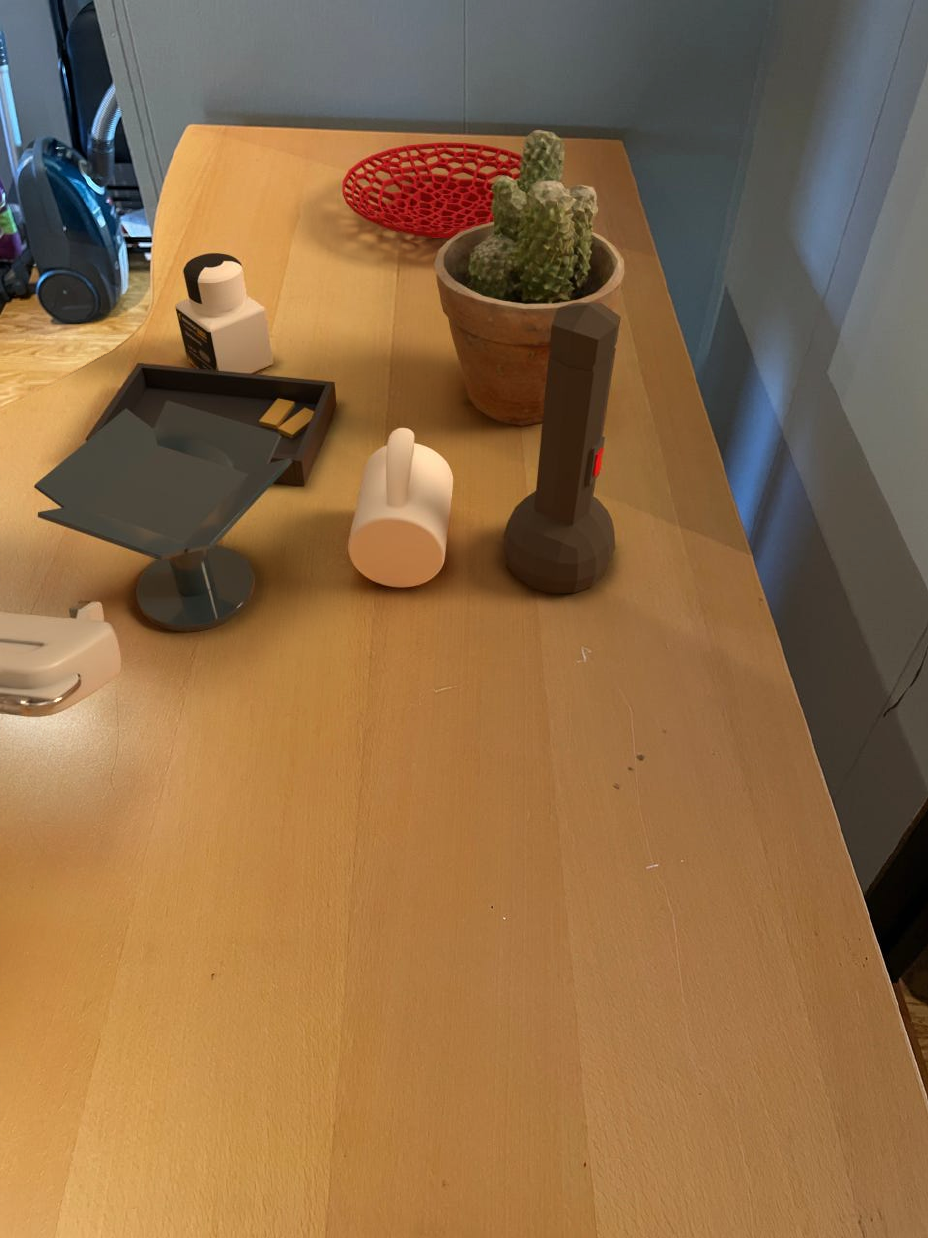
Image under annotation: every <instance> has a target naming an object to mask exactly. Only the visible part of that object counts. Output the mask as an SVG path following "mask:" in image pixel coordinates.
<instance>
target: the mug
mask: <svg viewBox="0 0 928 1238" xmlns="http://www.w3.org/2000/svg"><path fill="white" fill-rule="evenodd" d="M449 465H450V464H449V463H448V462H447V461H446V460H445V458H444V457H443V456H442V455H441V454H439V453H438V452H437V451H435V450H434V449H432V448H430V447H428V446H426V445H423V444H419V443H416V442H415V433H414V432H413V430H412V429H410V428H407V427H398V428H396V429H394V430H393V431H392V432H391V433H390V434H389V436H388V439H387V442H386V445H384V446H382V447H380V448H379V449H377V450H376V451H375V452H373V454H371V455H370V456H369V458H368V459H367V461H366V463H365V466H364V469H363V474H362V477H361V483H360V487H359V492H358V495H357V496H358V497H357V501H356V506H355V510H354V515H353V519H352V523H351V528H350V533H349V538H348V541H347V542H348V543H347V551H348V556H349V559H350V561H351V563H352V565H353V566H354V567H355V568H356V569H357V571H358V572H359V573H361V575H363V576H364V577H366V578H367V579H369V580H370V581H372V582H375V583H377V584H379V585H383V586H385V587H386V586H387V587H392V588H411V587H415V586H416V587H417V586H420V585H422V584H425V583H427V582H429V581H430V580H432V579H433V578H435V576H436V575H438V574H439V572H440V571H441V570H442V568H443V565H444V563H445V558H446V551H447V541H448V533H449V525H450V516H451V507H452V499H453V491H454V490H453V488H454V475H453V472H452V468H451V467H450V466H449Z"/></svg>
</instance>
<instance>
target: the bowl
mask: <svg viewBox="0 0 928 1238" xmlns="http://www.w3.org/2000/svg"><path fill="white" fill-rule="evenodd" d="M432 149H433V151H431V152H426V151H423V150H432ZM452 149H462V151H454V150H452ZM469 150H470V151H469ZM471 150H473V151H471ZM411 151H415V152H417V153H418V154H417V155H412V154H411ZM405 152H406V155H407V156H402V155H400V153H405ZM483 152H489V153H492V154H493V153H494V155H485V154H483ZM441 155H448V156H450V157H448V158H446V157H442V156H441ZM501 155H502V156H505V157H507V160H505V161H503V160H500V159H499V157H500V156H501ZM434 157H436V158H437V161H434V162H431V163H428V162H427V161H428V159H430V158H434ZM462 157H463V158H462ZM393 159H397V160H398V161H392V160H393ZM513 159H514V160H513ZM479 160H481V162H480V161H479ZM515 160H517V161H515ZM375 161H376V162H375ZM416 161H418V162H421V163H423V164H420V165H416V163H415V162H416ZM377 162H378V163H381V164H378V163H377ZM519 162H520V163H522V158H521V154H519V153H516V152H513V151H510V150H507V149H504V148H499V147H494V146H489V145H485V144H476V143H467V142H441V141H440V142H431V143H430V142H428V143H419V144H417V143H416V144H408V145H403V146H398V147H393V148H389V149H387V150H383V151H381V152H377V153H375V154H372V155H370V156H368V157H366V158H364V159H362V160H359V162H357V163H356V164H355V165H353V166H352V167H351V168H349V170H348V171H347V172H346V175H345V176H344V178H343V180H342V187H341V188H342V189H341V190H342V196H343V199H344V201H345V204H346V205H347V206H348V207H349V208H350V209H351V210H352V211H353V212H354V213H356V214H357V215H359V216H360V217H361V218H363V219H365V221H368V222H371V223H373V224H374V225H375V224H376V225H378V226H381V227H382V228H385V229H388V230H391V231H394V232H395V231H396V232H401V233H404V234H408V235H412V236H418V237H425V238H432V239H451V238H453V237H454V236H455V235H457V234H458V233H459V232H462V231H465V230H467V229H470V228H472V227H476V226H479V225H483V224H486V223H490V222H494V219H493V212H492V210H491V205H492V200H493V199H494V194H493V191H492V185H493V184H494V183H495V182H492V181H490V180H492V179H494V178H496V177H499V176H506V175H507V176H509V177H510V178H512V179H514V180H515V181H516V180H517V179H519V176H520V169H521V168H520V165H519ZM403 163H410V165H409V166H402V164H403ZM453 163H454V164H455V163H456V164H459V165H461V166H457V167H455V168H454V167H453V166H451V165H450V164H453ZM471 163H472V164H474V165H475V169H473V168H470V167H468V166H465V165H467V164H471ZM366 165H370V166H371V167H373V169H371V168H368V167H367V166H366ZM485 167H489V168H490V167H491V168H494V169H496V170H493V171H491V172H488V173H486V172H482V171H480V170H481V169H483V168H485ZM360 169H362V170H363V173H357V172H358V171H359V170H360ZM434 169H442V170H443V169H444V170H445V171H447V172H448V173H447V174H439V173H437V174H436V173H433V171H432V170H434ZM514 169H517V170H518V171H519V172H517V173H512V172H511V170H514ZM378 172H382V173H385V174H388V175H389V176H390V178H388V179H386V180H383V179H381V178H379V177H378V176H377V175H376V174H377V173H378ZM422 172H423V173H422ZM425 172H426V173H425ZM413 173H414V174H415V175H412V176H410V175H408V174H413ZM368 174H369V175H372V177H369V176H368ZM459 174H466V175H468V176H471V177H472V178H458V177H455V175H459ZM395 175H396V176H395ZM359 180H365V181H366V182H367V183H368V184H369V185H368V186H365V187H364V186H363V185H361V184H360V183H359V182H358V181H359ZM349 181H350V182H351V183H352V185H351V184H349V183H348V182H349ZM402 182H406V183H409V184H403V183H402ZM375 183H376V184H377V185H379V186H380V188H379V187H376V186H374V185H373V184H375ZM427 183H429V184H427ZM394 185H395V186H396V187H397V189H398V190H399V191H395V192H390V191H387V190H385V189H386V188H388V187H391V186H394ZM346 189H347V190H349V192H348V191H346ZM370 193H374V194H376V195H378V197H377V196H376V195H373V194H370ZM383 198H384V199H387V200H389V201H391V202H385V201H384V200H383ZM371 202H373V203H371Z"/></svg>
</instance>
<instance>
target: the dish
mask: <svg viewBox="0 0 928 1238" xmlns="http://www.w3.org/2000/svg"><path fill="white" fill-rule="evenodd" d="M280 438H281V435H280V434H278V433H275V432H271V431H268V430H265V429H261V428H258V427H254V426H251V425H248V424H244V423H241V422H238V421H234V420H231V419H228V418H224V417H221V416H218V415H214V414H211V413H208V412H204V411H201V410H197V409H194V408H191V407H187V406H184V405H181V404H177V403H174V402H171V401H166V404H165V406H164V408H163V410H162V412H161V414H160V416H159V418H158V420H157V423H156V425H155V427H154V429H152V428H151V427H150V426H149V425H147V424H146V423H145V422H143V421H142V420H141V419H139V418H138V417H137V416H135V415H134V414H133V413H132V412H130V411H129V410H128V409H124V410H123V411H122V412H121V413H120V414H119V415H117V416H116V417H115V418H114V419H113V420H111V421H110V422H109V423H108V424H107V425H105V426H104V427H103V428H102V429H101V430H99V431H98V432H97V433H96V434H95V435H93V436H92V437H91V438H90V439H89V440H87V441H86V440H85V442H83V444H81V445H80V446H79V447H77V449H75V450H74V451H73V452H72V453H70V454H69V455H68V456H67V457H66V458H65V459H63V460H62V461H61V462H60V463H59V464H58V465H56V466H55V467H54V468H52V469H51V470H50V471H49V472H48V473H47V474H46V475H44V476H43V477H42V478H41V479H39V480H38V481H37V482H36V483H35V484H34V485H33V488H34V489H36V490H37V491H38V492H39V493H41V494H42V495H43V496H45V497H46V498H48V499H49V500H50V501H52V502H53V503H54V504H56V505H57V506H59V508H53V509H48V510H42V511H38V512H37V518H40V519H42V520H45V521H48V522H51V523H54V524H57V525H59V526H62V527H65V528H67V529H70V530H73V531H76V532H79V533H82V534H85V535H88V536H90V537H93V538H96V539H99V540H102V541H104V542H106V543H110V544H113V545H115V546H119V547H121V548H124V549H127V550H130V551H133V552H136V553H138V554H142V555H144V556H147V557H150V558H152V559H155V560H153V561H152V562H151V563H150V564H149V565H147V566H146V568H145V569H144V570H143V572H142V573H141V575H140V576H139V579H138V581H137V583H136V584H137V585H136V591H135V595H136V596H135V597H136V600H137V603H138V607H139V609H140V611H141V613H142V614H143V616H144V617H145V618H146V619H148V620H149V621H150V622H151V623H152V624H154V625H156V626H158V627H160V628H162V629H164V630H169V631H174V632H180V633H181V632H182V633H188V632H190V633H193V632H200V631H206V630H210V629H213V628H217V627H218V626H221V625H223V624H225V623H227V622H229V621H231V620H232V619H233V618H235V617H236V616H238V615H239V614H240V613H241V612H242V611H244V610H245V608H246V607H247V605H248V604H249V603H250V602H251V600H252V598H253V595H254V592H255V587H256V578H255V575H254V569H253V567H252V565H251V564H250V562H249V561H248V559H247V558H246V557H244V556H243V554H241V553H240V552H238V551H237V550H234V549H232V548H229V547H227V546H223V545H217V544H218V543H219V542H220V541H221V540H222V539H223V538H224V537H225V536H226V535H227V534H228V532H229V531H230V530H232V528H233V527H234V526H235V525H236V524H237V523H238V522H239V520H241V518H242V517H243V516H244V515H245V514H246V513H247V512H248V511H249V510H250V509H251V508H252V506H253V505H254V504H255V503H256V502H257V501H258V500H259V499H260V498H261V497H262V496H263V495H264V493H265V492H266V491H267V490H268V489H269V488H270V487H271V486H272V485H273V484H274V483H273V482H274V481H275V480H276V479H277V478H278V477H279V476H280V475H281V474H282V473H283V472H284V471H285V469H286V468H287V467H288V466H289V465H290V464H291V463H292V461H291V459H290V458H289V459H285V460H281V461H277V462H273V463H270V460H271V458H272V456H273V454H274V451H275V449H276V447H277V445H278V442H279V440H280Z"/></svg>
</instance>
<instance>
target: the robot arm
mask: <svg viewBox="0 0 928 1238" xmlns="http://www.w3.org/2000/svg"><path fill="white" fill-rule="evenodd" d="M68 612H69V617H60V616H58V617H57V616H49V615H39V614H38V615H37V614H28V613H27V614H26V613H16V612H6V611H5V612H4V611H0V715H9V716H18V717H26V718H42V717H49V716H52V715H57V714H58V713H61V712H63V711H66V710H68V709H70V708H71V707H73V706H75V705H77V704H79V703H80V702H81V701H83V700H85V699H86V698H88V697H90V696H91V695H92V694H94V693H96V692H97V691H98V690H100V689H102V688H103V687H104V686H106V685H107V684H109V683H110V682H112V681H113V680H114V679H115V678H116V677H118V675H119V674H120V672H121V669H122V658H121V657H122V656H121V651H120V645H119V641H118V637H117V634H116V632H115V630H114V627H113V625H112V624H111V623H109V622H106V621H105V615H104V614H105V613H104V609H103V604H102V602H101V601H94V600H79V601H77V603H74V604H73V605H71V606H70V607H68Z"/></svg>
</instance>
